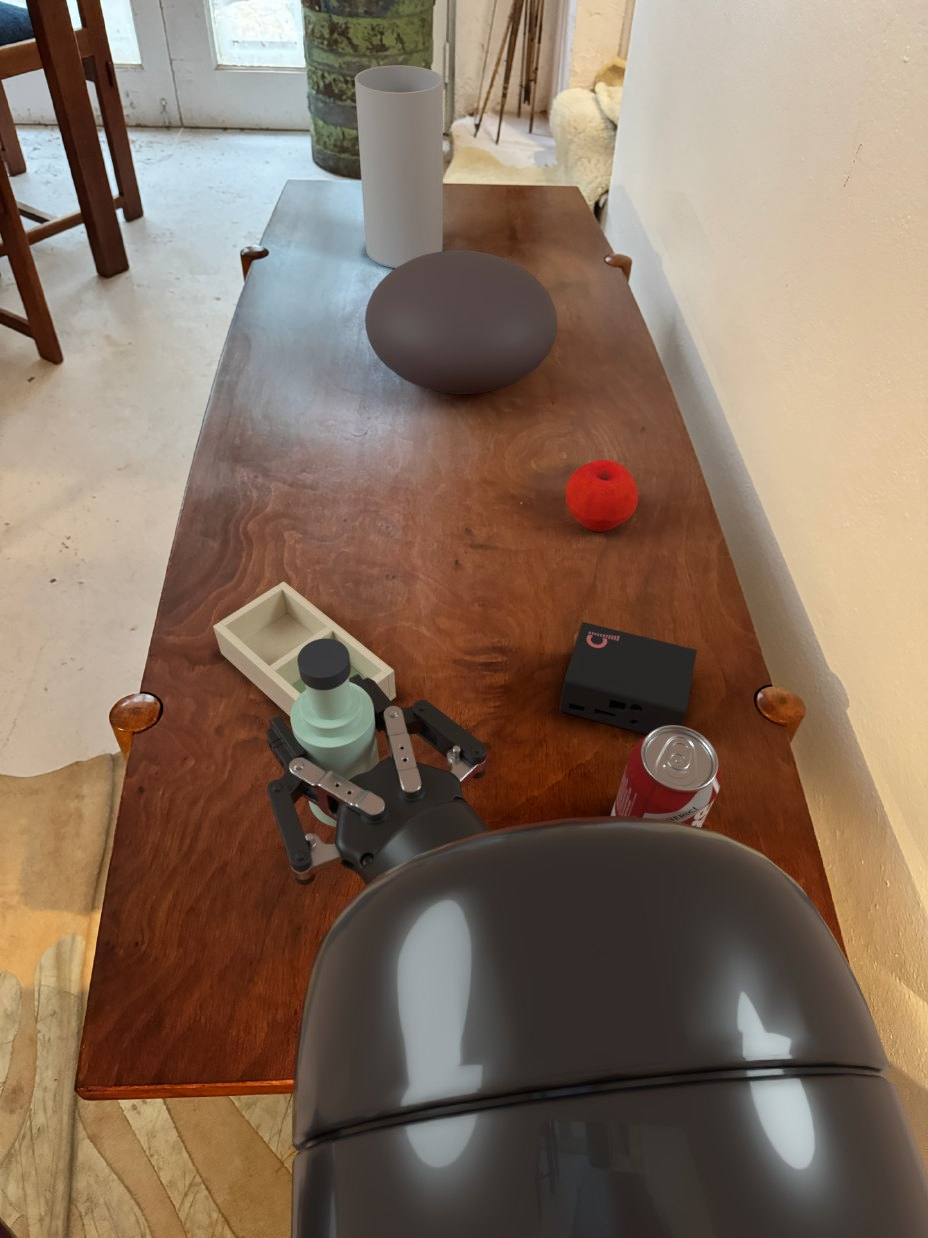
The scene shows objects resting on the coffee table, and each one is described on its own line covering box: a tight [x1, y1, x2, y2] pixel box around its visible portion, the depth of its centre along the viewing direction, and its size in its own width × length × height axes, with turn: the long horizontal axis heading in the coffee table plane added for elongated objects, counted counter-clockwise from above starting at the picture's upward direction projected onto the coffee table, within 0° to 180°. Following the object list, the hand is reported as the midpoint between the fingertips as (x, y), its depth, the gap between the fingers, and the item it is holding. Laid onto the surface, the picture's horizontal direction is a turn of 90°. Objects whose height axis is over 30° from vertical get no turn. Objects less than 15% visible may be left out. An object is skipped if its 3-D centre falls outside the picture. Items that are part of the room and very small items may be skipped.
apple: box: [565, 459, 639, 533], centre depth 93 cm, size 8×8×7 cm
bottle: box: [289, 638, 380, 828], centre depth 55 cm, size 5×5×15 cm
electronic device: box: [558, 621, 698, 736], centre depth 77 cm, size 7×11×5 cm
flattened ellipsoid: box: [364, 249, 558, 395], centre depth 110 cm, size 25×25×15 cm
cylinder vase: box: [354, 64, 444, 269], centre depth 129 cm, size 12×12×25 cm
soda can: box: [610, 725, 722, 828], centre depth 65 cm, size 7×7×12 cm
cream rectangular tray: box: [212, 581, 397, 717], centre depth 78 cm, size 8×16×4 cm, turn 46°
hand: (315, 704), depth 56 cm, fingers closed on bottle, 5 cm apart
